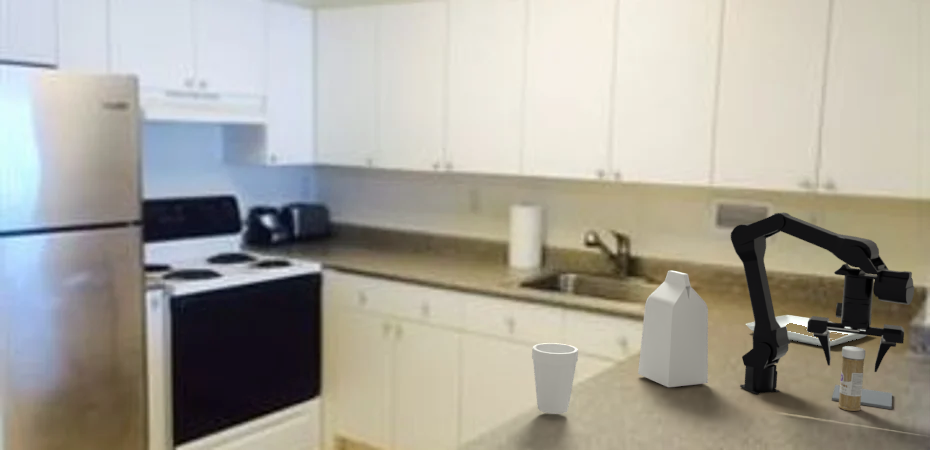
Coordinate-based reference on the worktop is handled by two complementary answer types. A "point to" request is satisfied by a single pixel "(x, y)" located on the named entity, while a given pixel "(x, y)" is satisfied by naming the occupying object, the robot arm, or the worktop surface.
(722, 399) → the worktop surface
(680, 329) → the milk
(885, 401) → the rest mat
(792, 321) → the square plate
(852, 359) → the sprinkles bottle
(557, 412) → the foam cup
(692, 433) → the worktop surface
